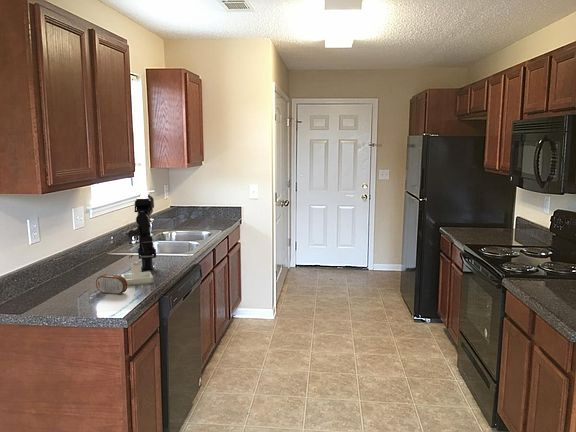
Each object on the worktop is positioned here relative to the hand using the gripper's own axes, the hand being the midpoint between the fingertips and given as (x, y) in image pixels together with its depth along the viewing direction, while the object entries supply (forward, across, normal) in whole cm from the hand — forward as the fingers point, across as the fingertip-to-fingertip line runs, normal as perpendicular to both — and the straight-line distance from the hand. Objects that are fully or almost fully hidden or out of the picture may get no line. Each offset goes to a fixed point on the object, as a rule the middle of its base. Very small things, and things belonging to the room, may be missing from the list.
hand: (144, 252), depth 240 cm
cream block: (+11, +10, -5) cm, 16 cm away
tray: (+12, +10, -5) cm, 16 cm away
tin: (+12, +25, -17) cm, 33 cm away
